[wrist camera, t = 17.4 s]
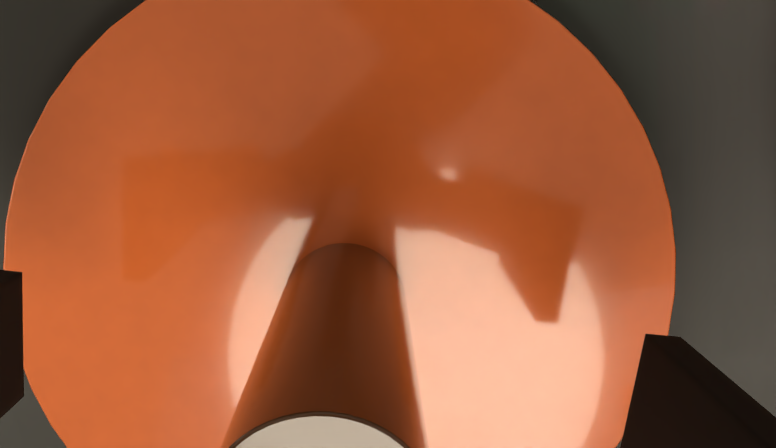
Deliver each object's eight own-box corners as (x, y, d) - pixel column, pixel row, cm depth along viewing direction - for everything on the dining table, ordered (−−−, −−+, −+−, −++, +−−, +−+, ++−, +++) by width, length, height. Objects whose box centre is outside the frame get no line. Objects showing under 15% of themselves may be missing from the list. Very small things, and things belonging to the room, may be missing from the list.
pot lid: (398, -210, 15) (444, -664, 6) (772, 329, 19) (1180, 591, 9) (-111, 240, 17) (-680, 438, 8) (308, 648, 21) (256, 1124, 11)
